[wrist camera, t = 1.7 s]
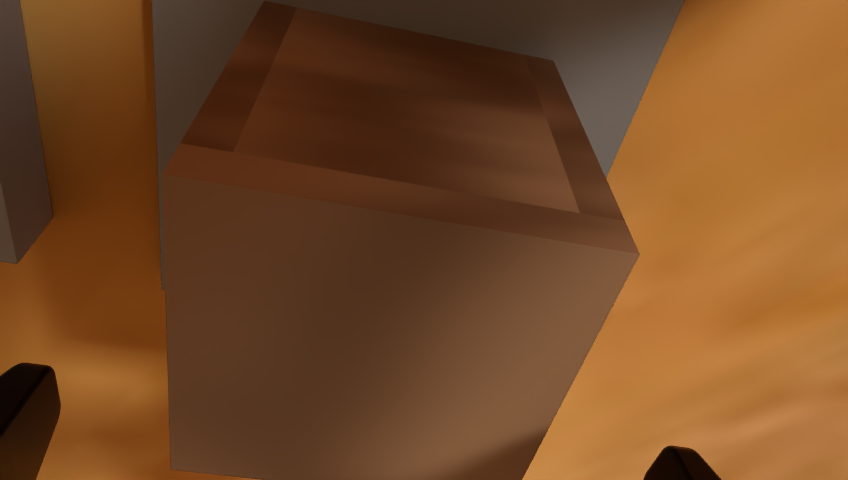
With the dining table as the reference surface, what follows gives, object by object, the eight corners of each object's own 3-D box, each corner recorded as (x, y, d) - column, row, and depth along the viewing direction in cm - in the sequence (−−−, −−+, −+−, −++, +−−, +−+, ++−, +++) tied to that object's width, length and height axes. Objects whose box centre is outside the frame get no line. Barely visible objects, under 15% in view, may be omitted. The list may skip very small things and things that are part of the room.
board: (685, -30, 14) (811, 73, 10) (529, 329, 21) (561, 491, 16) (156, -154, 13) (15, -99, 8) (168, 276, 19) (92, 438, 15)
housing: (553, 60, 15) (640, 254, 9) (479, 275, 18) (507, 506, 13) (264, 0, 14) (161, 173, 8) (248, 238, 18) (170, 469, 12)
